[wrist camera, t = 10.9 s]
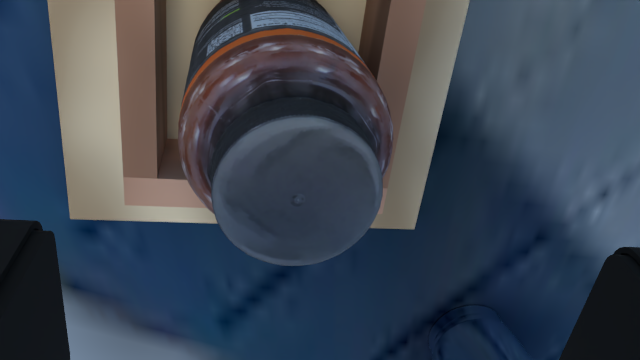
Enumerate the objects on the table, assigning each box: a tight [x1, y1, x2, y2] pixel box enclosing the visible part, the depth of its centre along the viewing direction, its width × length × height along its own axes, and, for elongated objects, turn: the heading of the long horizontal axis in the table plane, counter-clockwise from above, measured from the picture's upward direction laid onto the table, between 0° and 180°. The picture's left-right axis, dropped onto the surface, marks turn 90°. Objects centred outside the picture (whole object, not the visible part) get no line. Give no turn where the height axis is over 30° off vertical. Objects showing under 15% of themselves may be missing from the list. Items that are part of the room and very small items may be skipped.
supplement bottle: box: [178, 0, 394, 266], centre depth 18 cm, size 6×6×11 cm
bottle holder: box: [48, 0, 470, 229], centre depth 22 cm, size 16×16×5 cm
